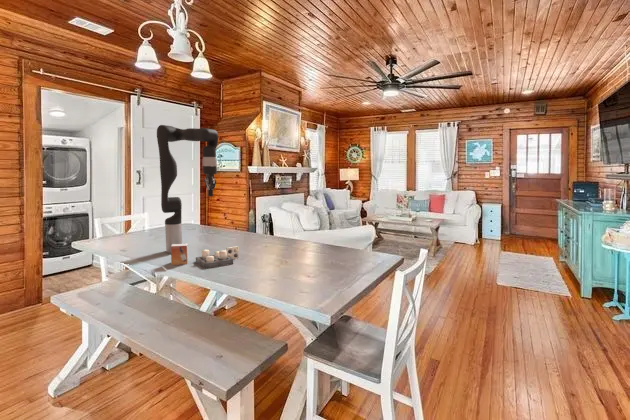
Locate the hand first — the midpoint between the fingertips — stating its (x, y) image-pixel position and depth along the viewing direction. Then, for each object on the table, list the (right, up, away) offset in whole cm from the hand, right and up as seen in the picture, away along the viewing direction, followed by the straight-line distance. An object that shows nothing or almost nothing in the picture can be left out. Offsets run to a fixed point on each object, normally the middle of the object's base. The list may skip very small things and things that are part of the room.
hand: (210, 196), depth 192 cm
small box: (-13, -37, -10) cm, 40 cm away
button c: (0, -34, -9) cm, 35 cm away
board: (+5, -36, -9) cm, 38 cm away
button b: (+10, -34, -10) cm, 37 cm away
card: (+13, -35, 0) cm, 38 cm away
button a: (+4, -36, -14) cm, 39 cm away
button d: (+6, -35, -4) cm, 36 cm away
